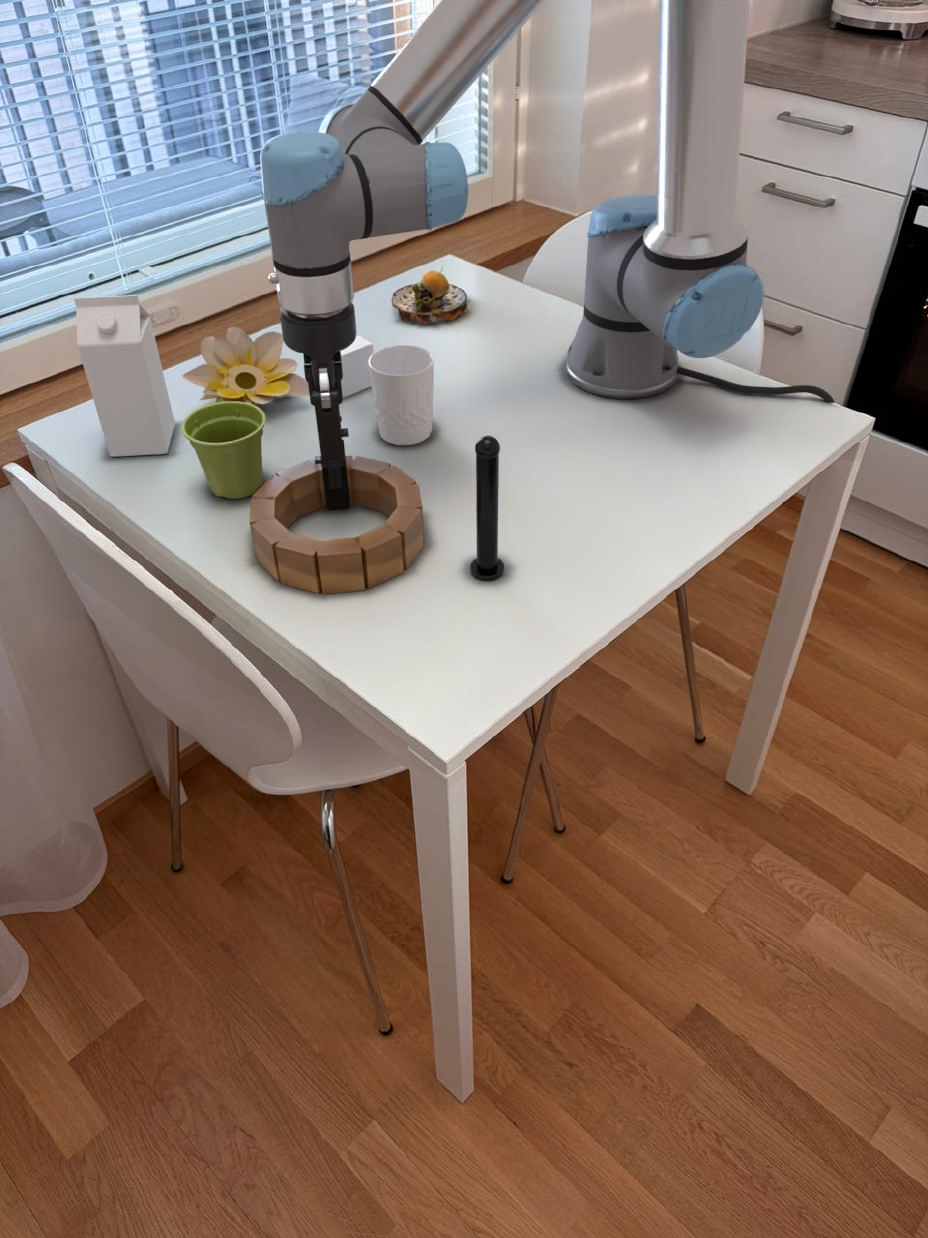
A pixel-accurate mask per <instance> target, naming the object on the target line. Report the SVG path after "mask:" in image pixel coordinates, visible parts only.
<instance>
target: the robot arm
mask: <svg viewBox="0 0 928 1238" xmlns="http://www.w3.org/2000/svg"><path fill="white" fill-rule="evenodd" d="M545 1H546V0H440V2H439V3H438V5H436V6H435V8H434V9H433V10H432V11H431V13H430V14H429V15H428V16H427V17H426V19H424V21H423V22H422V23H421V24H420V26H419V27H418V28H417V29H416V31H414V33H413V34H412V35H411V36H410V38H409V39H408V40H407V42H405V44H404V45H403V46H402V47H401V49H400V50H399V51H398V52H397V53H396V54H395V56H394V57H393V58H392V59H391V61H390V62H389V63H388V64H387V65H386V66H385V68H384V69H383V70H382V71H381V72H380V74H379V75H378V76H377V77H376V79H375V80H374V81H373V82H372V83H371V85H370V86H369V87H368V88H367V89H366V90H365V91H364V93H363V94H362V95H361V96H360V97H359V98H358V100H357V101H355V103H354V102H353V103H350V102H349V103H344V104H339V105H338V106H336V107H334V108H333V109H331V110H330V111H329V112H328V113H327V114H326V115H325V116H324V117H323V120H322V122H321V123H320V126H319V129H318V131H308V132H305V131H291V132H285V133H281V134H278V135H276V136H274V137H272V138H270V139H268V140H267V141H266V142H265V143H264V144H263V146H262V148H261V151H260V154H259V156H260V157H259V160H260V175H261V187H262V191H261V196H262V197H261V198H262V199H263V203H264V210H265V216H266V223H267V231H268V237H269V241H270V250H271V256H272V263H273V271H274V273H273V272H272V273H270V274H269V275H268V282H269V283H270V284H272V285H276V293H277V300H278V304H279V306H280V308H279V318H280V327H281V334H282V335H283V344H285V346H286V347H287V348H288V349H290V350H291V351H293V352H295V353H298V354H302V355H303V372H304V380H305V381H306V382H307V383H308V386H309V394H310V396H309V402H310V405H312V407H314V412H315V421H316V429H317V436H318V445H319V452H320V455H317V456H314V459H315V464H321V466H322V474H323V482H324V491H325V499H326V507H325V508H326V510H337V509H347V508H349V509H350V508H351V505H350V498H349V488H348V478H347V468H346V459H345V456H346V449H345V448H346V447H345V439H343V438H349V437H350V435H349V427H343V428H342V422H343V418H342V416H341V411H340V405H341V404H342V403H344V398H343V395H342V385H341V380H342V378H343V371H342V361H341V350H344V349H346V348H347V347H349V346H350V345H351V344H352V343H353V342H354V341H355V339H356V335H357V323H356V314H355V312H356V311H355V305H354V303H353V301H354V299H355V293H354V292H355V291H354V283H353V282H354V281H353V279H354V278H353V270H352V259H351V252H350V242H352V241H357V240H364V239H369V238H376V237H384V236H390V235H397V234H405V233H410V232H411V233H412V232H418V231H425V230H427V231H431V230H433V229H437V228H441V227H444V226H449V225H452V224H456V223H458V222H459V221H460V220H461V219H462V218H463V216H464V215H465V213H466V210H467V207H468V202H469V179H468V174H467V168H466V165H465V162H464V159H463V157H462V155H461V152H460V151H459V150H458V149H457V147H456V146H455V145H453V143H451V142H430V141H425V142H424V143H423V141H424V140H425V139H426V138H427V137H428V135H429V134H430V133H431V132H432V131H433V130H434V129H435V127H437V126H438V124H439V123H440V122H441V121H442V119H443V118H444V117H445V116H446V115H447V113H449V111H450V110H451V109H452V108H453V107H454V106H455V104H456V103H457V102H458V101H459V100H460V99H461V98H462V97H463V95H464V94H465V93H466V92H467V91H468V90H469V89H470V88H471V86H472V85H473V84H474V83H475V82H476V80H477V79H478V78H479V77H480V76H481V75H482V74H483V72H484V71H485V70H486V69H487V68H488V67H489V66H490V65H491V63H493V61H494V60H495V59H496V58H497V56H498V55H499V54H500V53H501V52H502V50H503V49H504V48H506V46H507V45H508V44H509V43H510V42H511V40H512V39H513V38H514V37H515V36H516V35H517V33H519V31H521V29H522V27H523V26H525V24H527V22H528V21H529V20H530V18H531V17H532V16H533V15H534V14H535V13H536V12H537V10H538V9H539V8H540V7H541V6H542V5H543V4H544V3H545ZM750 2H751V0H658V62H657V63H658V65H657V66H658V71H657V72H658V73H657V150H656V151H657V152H656V153H657V154H656V156H657V157H656V158H657V159H656V161H657V162H656V170H657V171H656V194H636V195H625V196H619V197H618V196H617V197H614V198H610V199H607V200H604V201H603V202H600V203H599V204H597V205H596V206H595V207H594V208H593V209H592V211H591V214H590V220H589V225H588V230H587V233H586V237H587V250H586V265H585V266H586V267H585V280H584V281H585V282H584V296H583V297H584V298H583V312H582V318H581V320H580V323H579V326H578V328H577V330H576V333H575V334H574V338H573V339H572V341H571V344H570V345H569V348H568V349H567V351H566V355H565V356H567V358H566V365H565V366H566V367H565V371H566V375H567V377H568V379H569V381H571V382H572V383H573V384H574V385H575V386H577V387H578V388H580V389H582V390H583V391H586V392H588V393H591V394H593V395H596V396H600V397H606V398H613V399H622V400H623V399H627V400H628V399H642V398H648V397H652V396H656V395H658V394H661V393H663V392H665V391H667V390H669V389H670V388H671V387H672V386H673V385H674V384H675V383H676V381H677V378H678V375H680V376H684V377H688V378H691V379H694V380H698V381H701V382H705V383H708V384H711V385H714V386H717V387H721V388H724V389H726V390H729V391H732V392H737V393H741V394H742V393H743V394H753V395H754V394H755V395H773V396H774V395H787V394H788V395H790V394H801V393H805V394H811V395H815V396H817V397H819V398H820V399H822V400H823V401H824V402H825V403H828V404H834V403H835V399H834V398H833V396H832V395H831V394H830V393H829V392H828V391H826V390H825V389H823V388H821V387H819V386H815V385H810V384H809V385H808V384H799V385H798V384H797V385H789V386H757V385H754V386H753V385H745V384H739V383H735V382H731V381H728V380H725V379H722V378H720V377H717V376H713V375H710V374H706V373H703V372H700V371H696V370H693V369H689V368H686V367H683V366H682V367H681V366H679V355H678V352H680V353H681V354H683V355H684V356H686V357H689V358H692V359H707V358H711V357H714V356H717V355H719V354H720V355H721V354H722V353H724V352H726V351H728V350H730V348H732V347H733V346H735V345H736V344H738V342H739V341H741V340H742V338H743V336H744V335H745V334H746V333H747V332H749V331H750V330H751V328H752V327H753V325H754V324H755V322H756V321H757V319H758V317H759V315H760V313H761V310H762V308H763V304H764V299H765V298H764V297H765V286H764V283H763V280H762V279H761V276H760V275H759V274H758V272H757V270H756V269H754V268H753V267H752V266H749V265H747V254H748V242H749V228H748V225H747V224H746V223H745V222H744V221H743V220H742V219H741V218H740V217H739V216H738V215H737V214H736V213H737V198H738V186H739V185H738V184H739V172H740V171H739V168H740V154H741V142H742V141H741V139H742V138H741V137H742V124H743V123H742V122H743V109H744V93H745V79H746V78H745V77H746V64H747V63H746V62H747V48H748V35H749V19H750V4H751V3H750Z"/></svg>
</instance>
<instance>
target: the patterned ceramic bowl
mask: <svg viewBox="0 0 928 1238" xmlns="http://www.w3.org/2000/svg"><path fill="white" fill-rule="evenodd" d="M443 267H444V266H442V267H441V270H440V271H437V270H435V269H434V270H433V269H431V270H427V271H426V272H425V273H423V276H422V278H421V279H420V280H419V282H416V283H413V284H412V283H411V284H408V285H405V286H403V287H400V288H398V289H397V290H396V291H394V292H393V293H392V297H391V301H390V302H391V306H392V307H393V308H394V309H396V310H397V311H398V315H399V319H400V321H401V322H405V323H408V324H412V321H413V319H412V318H413V317H416V319H417V320H418V321H419V322H420V323H422V324H424V325H428V324H429V323H431V324H434V323H435V322H436V321H439V322H440V321H441V320H445V319H446V320H447V321H448V322H449V321H451V320H455V319H456V318H457V317H458V316H459V317H461V316H462V315H464V314H465V313H466V311H467V310H468V302H467V299H468V297H467V296H468V295H467V293H466V291H465V290H464V289H462V288H461V287H458V286H457V285H454V284H451V283H449V280H448V279H447V277H446V275H444V274H443V273H442V270H443Z"/></svg>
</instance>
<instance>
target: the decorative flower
mask: <svg viewBox="0 0 928 1238" xmlns="http://www.w3.org/2000/svg"><path fill="white" fill-rule="evenodd" d="M283 344H284V340H283V334H282V332H281V333H280V332H277V331H272V330H271V331H267V332H264V333H263V334H261V335H259V336H258V337H257V338H255V340H253V339H252V338H251V336H250V335H248V334H247V333H246V332H245V331H244V330H243V329H242V328H240V327H237V326H234V325H233V326H231V327H228V328H227V329H226V338H225V337H224V336H223V337H222V336H217V337H215V336H213V335H211V336H206V337H204V338H203V339H202V340H201V342H200V353H201V357H202V358H203V360H204V361H205V363H204V364H203V363H202V364H201V365H199V366H196V367H194V368H193V369H191V370H189V371H187V372H185V373H184V374H182V375H181V377H182V379H184V380H186V381H188V382H189V383H191V384H194V385H196V386H198V387H200V388H201V387H202V388H204V389H203V391H202V394H203V395H202V397H200V399H199V401H206V400H212V399H215V402H214V403H219V402H233V401H237V402H245V403H249V404H252V405H254V406H257V405H260V406H262V405H265V404H267V403H271V402H272V401H273V400H274V398H277V399H282V398H286V397H310V394H309V386H308V382H307V381H306V380H305V378H304V377H301V376H300V375H299V374H296V373H293V372H295V371H296V370H297V368H298V362H297V361H296V360H295V359H293V358H287V357H285V358H281V356H282V350H283V346H284V345H283Z"/></svg>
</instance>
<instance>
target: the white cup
mask: <svg viewBox="0 0 928 1238" xmlns="http://www.w3.org/2000/svg"><path fill="white" fill-rule="evenodd" d="M369 369H370V377H371V385H372V386H371V393H372V397H373V404H374V405H373V406H374V410H375V416H376V419H377V427H378V432H379V433H378V434H379V435H380V438H381V439H382V440H383V441H384V442H387V443H388V444H393V445H396V446H413V445H416V444H420V443H423V442H424V441H426V440H427V439H428V438H430V436H431V434H432V432H433V413H434V395H435V394H434V393H435V392H434V391H435V389H434V387H435V383H434V381H435V378H434V377H435V358H434V355H433V354H432V353H431V352H430V351H429V350H428V349H425V348H423V347H420V346H415V345H411V344H406V345H405V344H400V345H399V344H398V345H391V346H385V347H384V348H380V349H378V350H377V351H375V352H374V354H372V355H371V357H370V358H369Z"/></svg>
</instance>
